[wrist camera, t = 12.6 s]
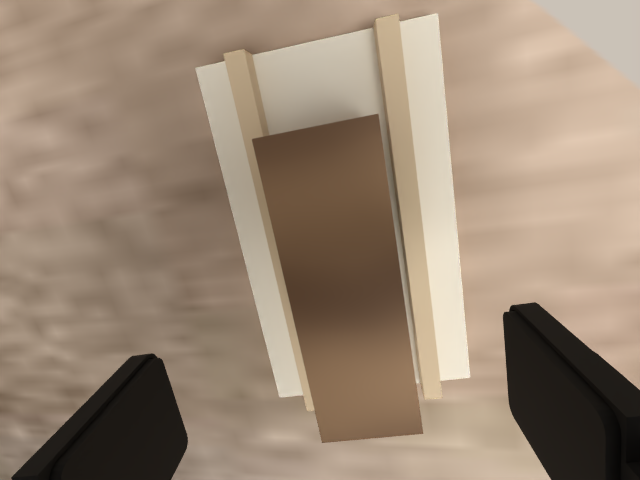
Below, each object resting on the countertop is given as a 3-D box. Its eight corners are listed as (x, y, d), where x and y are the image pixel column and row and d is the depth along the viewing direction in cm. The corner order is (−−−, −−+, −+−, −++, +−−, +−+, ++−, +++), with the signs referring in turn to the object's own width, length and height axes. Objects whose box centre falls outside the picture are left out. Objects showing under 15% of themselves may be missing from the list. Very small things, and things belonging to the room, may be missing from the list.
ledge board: (463, 362, 24) (478, 394, 21) (283, 382, 26) (275, 414, 23) (431, 21, 19) (445, 2, 16) (206, 72, 20) (182, 63, 17)
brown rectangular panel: (398, 327, 22) (424, 433, 14) (330, 336, 23) (320, 442, 15) (368, 119, 19) (380, 113, 11) (289, 134, 19) (250, 139, 12)
